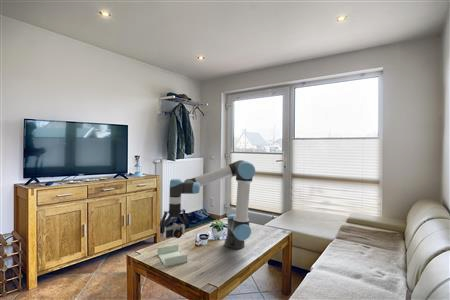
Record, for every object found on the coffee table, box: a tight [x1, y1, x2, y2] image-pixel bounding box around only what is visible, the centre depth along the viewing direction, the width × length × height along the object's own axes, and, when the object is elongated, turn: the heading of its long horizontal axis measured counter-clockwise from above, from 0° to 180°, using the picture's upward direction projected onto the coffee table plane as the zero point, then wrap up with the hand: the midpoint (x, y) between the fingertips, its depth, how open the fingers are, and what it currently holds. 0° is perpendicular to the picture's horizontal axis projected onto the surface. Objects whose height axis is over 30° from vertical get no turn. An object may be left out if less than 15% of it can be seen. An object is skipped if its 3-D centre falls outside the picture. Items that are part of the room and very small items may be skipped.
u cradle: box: [157, 243, 188, 268], centre depth 157 cm, size 14×18×5 cm
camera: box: [165, 222, 183, 239], centre depth 158 cm, size 13×8×9 cm, turn 139°
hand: (174, 235), depth 158 cm, fingers closed on camera, 12 cm apart
